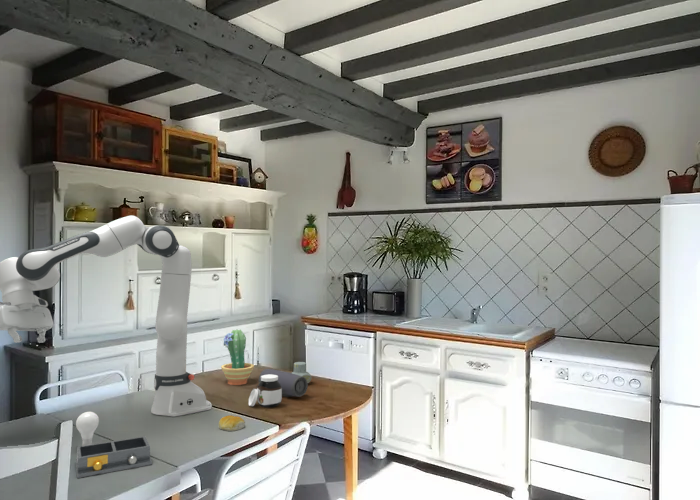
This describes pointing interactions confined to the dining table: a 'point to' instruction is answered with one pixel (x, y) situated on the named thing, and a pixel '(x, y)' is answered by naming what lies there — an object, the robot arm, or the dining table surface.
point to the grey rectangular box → (112, 456)
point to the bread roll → (231, 423)
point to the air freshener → (301, 370)
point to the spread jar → (267, 392)
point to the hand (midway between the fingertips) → (30, 341)
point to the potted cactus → (236, 359)
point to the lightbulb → (87, 426)
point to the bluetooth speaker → (288, 382)
